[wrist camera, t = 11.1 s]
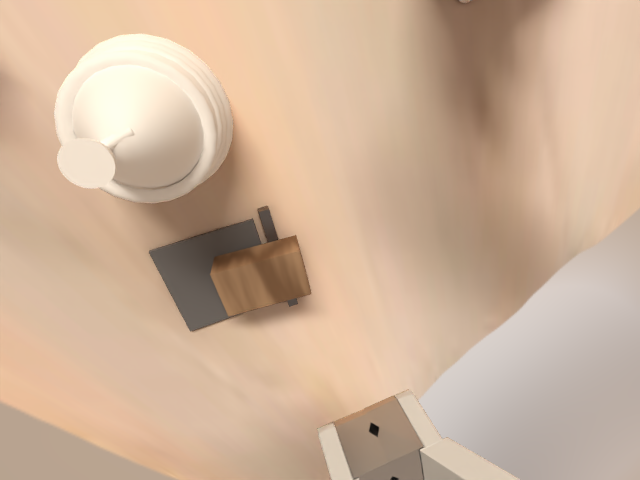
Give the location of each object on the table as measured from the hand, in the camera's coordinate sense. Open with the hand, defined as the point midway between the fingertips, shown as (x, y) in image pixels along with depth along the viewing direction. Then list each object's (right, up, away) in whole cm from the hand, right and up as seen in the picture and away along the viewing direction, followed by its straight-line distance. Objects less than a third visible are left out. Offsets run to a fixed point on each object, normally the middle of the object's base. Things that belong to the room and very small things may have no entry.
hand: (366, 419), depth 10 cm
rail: (-7, +3, +33) cm, 34 cm away
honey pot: (-17, +18, +23) cm, 34 cm away
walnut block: (-3, +3, +30) cm, 30 cm away
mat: (-14, +1, +32) cm, 35 cm away
